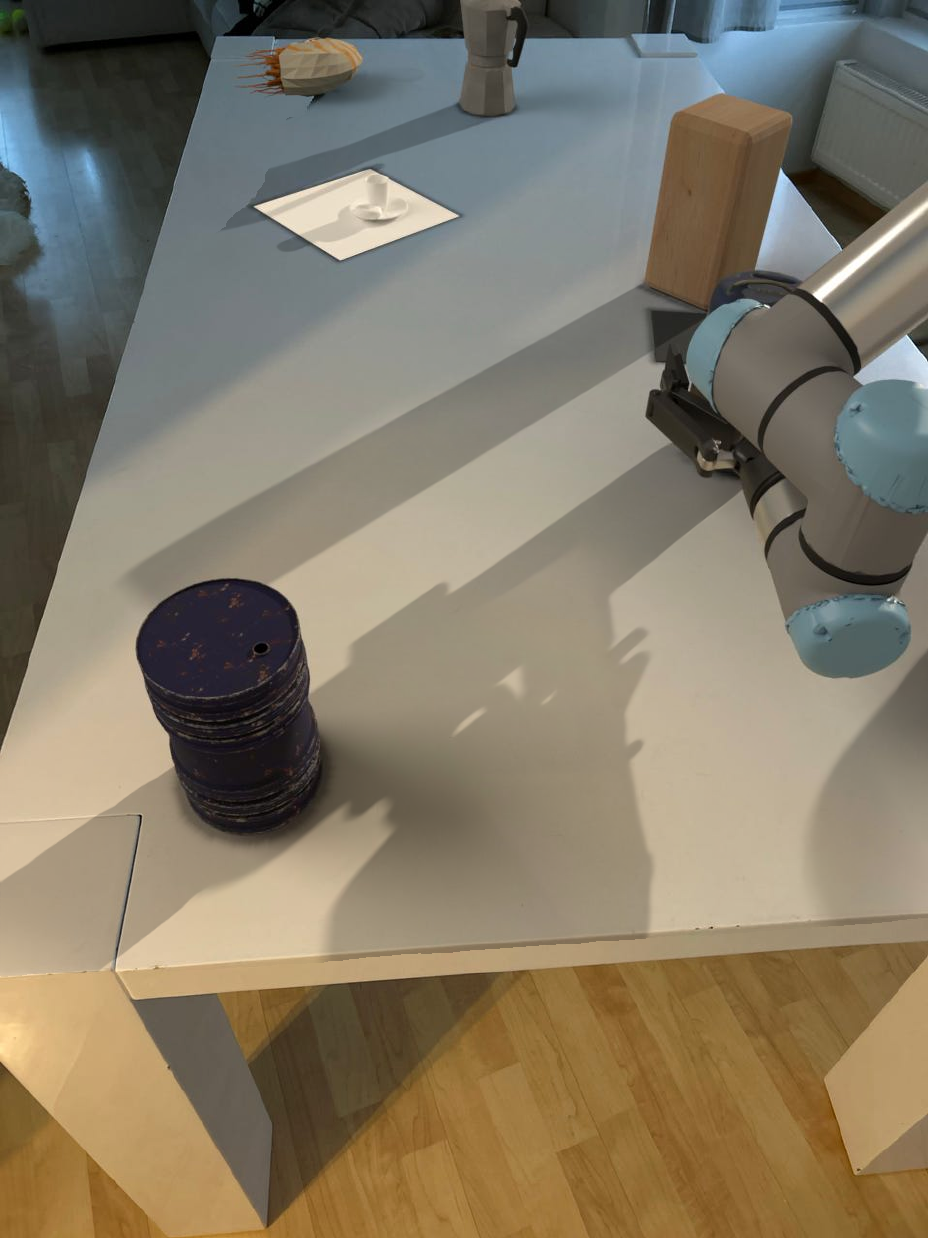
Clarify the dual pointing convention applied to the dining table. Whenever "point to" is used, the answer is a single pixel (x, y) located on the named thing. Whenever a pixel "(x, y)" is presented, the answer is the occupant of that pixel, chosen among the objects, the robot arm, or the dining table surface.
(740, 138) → the wooden block
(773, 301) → the canister
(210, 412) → the dining table surface
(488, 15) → the coffeepot
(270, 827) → the navy cylinder
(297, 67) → the nautilus shell
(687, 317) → the mat
